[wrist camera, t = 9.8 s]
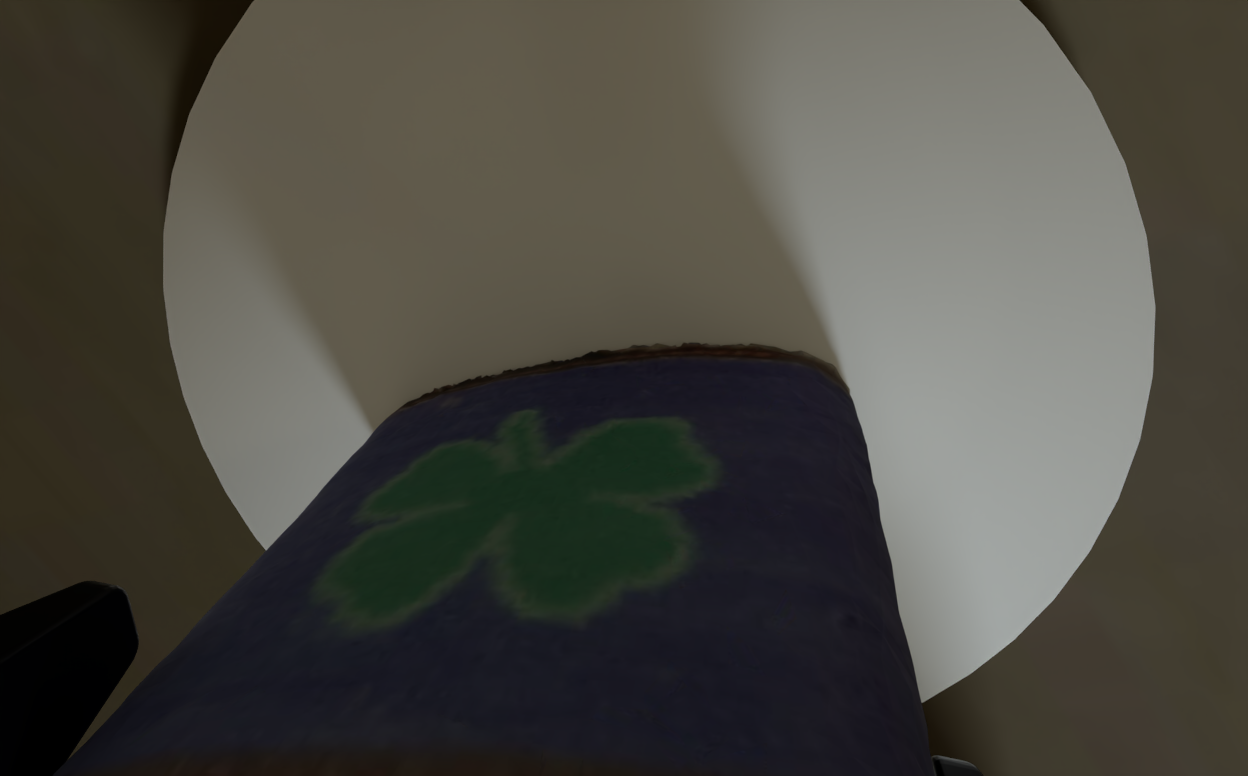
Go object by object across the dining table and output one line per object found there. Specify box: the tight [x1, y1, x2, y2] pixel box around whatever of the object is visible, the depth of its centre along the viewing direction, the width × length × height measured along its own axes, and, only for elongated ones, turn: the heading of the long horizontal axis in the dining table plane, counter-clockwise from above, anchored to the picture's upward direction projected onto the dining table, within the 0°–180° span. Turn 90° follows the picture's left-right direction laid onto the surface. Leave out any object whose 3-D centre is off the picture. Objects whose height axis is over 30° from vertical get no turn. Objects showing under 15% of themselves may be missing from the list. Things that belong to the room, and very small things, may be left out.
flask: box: [52, 343, 935, 776], centre depth 10 cm, size 9×3×11 cm, turn 102°
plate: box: [163, 0, 1155, 703], centre depth 15 cm, size 18×18×2 cm
